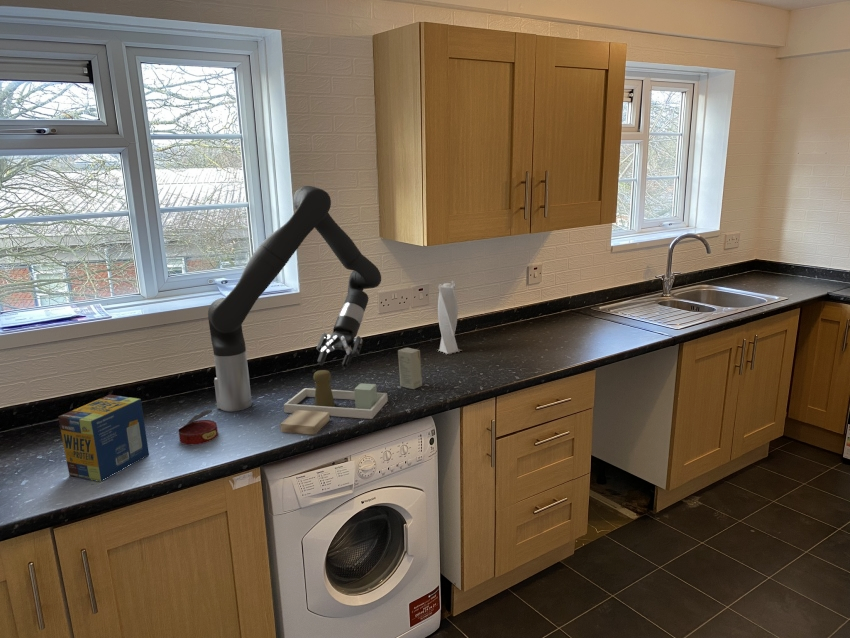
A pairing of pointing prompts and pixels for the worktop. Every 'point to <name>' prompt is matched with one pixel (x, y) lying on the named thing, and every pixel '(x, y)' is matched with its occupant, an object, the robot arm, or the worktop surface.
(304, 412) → the board
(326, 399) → the olive pawn
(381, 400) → the white rectangular frame
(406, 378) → the skincare box
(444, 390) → the worktop surface
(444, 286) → the skyscraper
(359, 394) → the sage block
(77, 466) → the protein box
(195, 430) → the canned food
